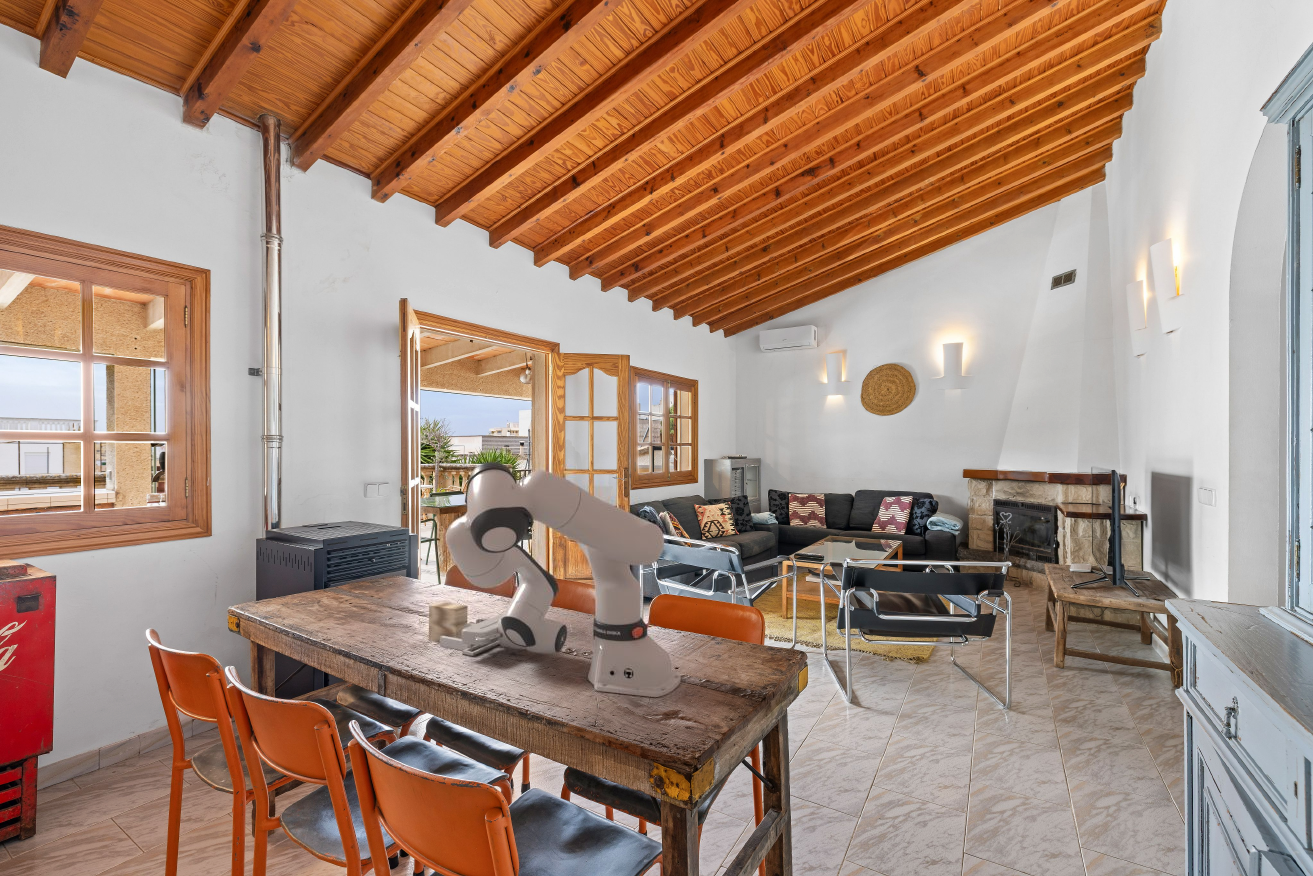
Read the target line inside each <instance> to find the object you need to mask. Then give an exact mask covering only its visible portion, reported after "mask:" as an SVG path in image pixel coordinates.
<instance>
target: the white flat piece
mask: <svg viewBox="0 0 1313 876" xmlns="http://www.w3.org/2000/svg"><path fill="white" fill-rule="evenodd" d="M439 647H443V648H449V649H452V650H453V649H454V650H458V651H464V650H466V649H468V648H471V647H472V645H471V644H464V643H463V642H462V639H458V638H452V637H447V636H441V637H440V643H439Z"/></svg>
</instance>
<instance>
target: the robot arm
mask: <svg viewBox="0 0 1313 876" xmlns="http://www.w3.org/2000/svg"><path fill="white" fill-rule="evenodd" d="M464 503H465V505H466V507H467V509H466V510H467V511H466V512H465V514H464V515H463V516H460V517H458V518H456V519H455V520H454V521H453V522H452V523H450V525H449V526H448V527H447V529H446V533H445V544H446V547H447V549H448V551H449V554H450V555H451V558H452V560H453V561H454V563H455V565H456V566H457V568H458V569H459V571H460V572H461V574H462V575H463V577H465V579H466V580H467V581H468V582H469V583H471V584H472V586H473V585H474V586H475V587H478V588H482V589H490V588H494V587H497V586H500V585H502V584H504V583H506V582H507V581H508V580H509V579H510V578H511V577H512V576H513V574H515V573H516V572H517V573H518V574H519V576H521V578H520V582H519V584H518V587H517V589H516V590H515V593H514V595H513V596H512V598H511V600H510V601H509V603H508V605H507V607H506V609H505V610H504V612H503V613H501V614H498V615H495V616H493V617H488V618H481V617H480V618H478V619H476V620H475V622H473V621H470V622H467V624H466V628H464V629H463V630H462V642H463V643H464V644H471V646H475V645H487V644H489V643H492V642H494V641H496V640H498V641H499V643H500V646H501V647H503V648H508V649H509V648H510V649H514V650H527V651H529V652H530V653H531V652H532V653H538V654H544V655H546V654H547V655H550V654H551V655H553V654H557V653H558V654H559V653H560V652H561V650H563V648H564V645H565V643H566V641H567V638H568V637H567V636H568V628H567V627H568V626H567V625H566V624H565V623H563V622H561V621H557V620H554V619H550V618H546V616H547V613H548V611H549V609H550V607H551V605H552V603H553V602H554V600H555V598H556V597H557V595H558V594H559V591H560V590H559V589H560V588H559V584H558V581H557V579H556V577H555V576H554V575H553V574H552V573H550V572H549V571H547V570H546V569H545V568H543V567H542V566H541V565H540V563H538V561H537V560H535V558H534V557H533V556H532V555H531V554H530V553H529V552H528V551H527V550H526V549H525V548H523V546H521V545H519V543H520V542H521V541H522V540H523V539H524V537H525V536H526V535H527V534H529V533H530V532H531V531H532V528H533V526H534V521H535V522H536V521H537V522H539V523H541V524H542V525H545V526H547V527H548V528H549V529H551V530H553V531H556V532H557V533H559V534H561V535H563V536H565V537H566V538H568V539H569V540H572V541H574V542H575V543H577V544H578V547H579V548H580V549H581V550H582V552H583V553H584V555H585V557H586V559H587V562H588V564H589V567H590V571H591V574H592V580H593V583H594V593H595V594H594V595H595V596H594V597H595V608H594V609H595V612H594V613H595V617H594V618H593V623H592V624H593V627H592V628H593V630H592V632H593V633H592V635H593V640H594V641H593V642H594V643H593V649H592V650H593V651H592V657H591V663H590V667H589V671H588V675H587V680H588V681H589V682H590V683H591V684H592V685H593V686H594V687H593V688H594V690H595V691H597V692H603V693H604V692H605V693H614V694H624V695H632V696H640V697H641V696H642V697H652V698H658V697H662V696H665V695H668V694H670V693H671V692H673V691H674V690H675V689H677V688H678V687H679V685H680V684H681V683H682V678H681V673H679V672H678V671H676V670H675V671H674V670H672V663H671V662H672V661H671V657H670V655H669V654H670V653H668V652H667V651H666V649H664V648H663V647H662V646H661V645H659V644H658V642H656V641H655V640H654V639H653V638H652V637H651V636H650V635H649V634H648V629H649V628H650V627H651V625H650V624H651V621H648V622H645V621H644V619H643V617H642V588H641V584H640V582H639V581H638V580H637V579H636V577H635V576H634V575H633V572H632V571H631V569H630V568H631V567H630V566H646V565H652V564H654V563H655V562H657V561H658V560H659V558H660V557H661V556H662V554H663V551H664V547H665V537H664V534H663V533H664V532H663V530H662V529H661V528H660V527H659V526H658V525H657V524H655V523H653V522H650V521H648V520H646V519H643V518H641V517H639V516H637V515H635V514H633V513H631V512H628V511H627V510H625V509H623V508H620V507H617V506H615V505H613V504H611V503H608V502H606V501H604V500H602V499H600V498H598V497H596V496H595V495H593V494H592V493H590V492H588V491H587V490H585V489H584V488H582V487H580V486H578V485H577V484H575V483H573V482H572V481H571V480H569V479H567V478H565V477H562V476H561V475H558V474H556V473H552V472H549V471H547V470H541V469H540V470H539V469H537V470H534V471H532V472H530V473H529V474H527V475H526V476H525V477H524V478H523V480H522V481H520V482H518V483H517V480H516V477H515V475H514V474H513V472H512V471H511V469H510V468H509V467H508V466H506V465H505V464H503V463H500V462H494V461H491V462H490V461H488V462H484V463H482V464H479V465H477V466H476V467H474V469H473V470H472V471H471V472H470V475H469V478H468V480H467V485H466V491H465V497H464Z"/></svg>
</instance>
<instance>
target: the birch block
mask: <svg viewBox="0 0 1313 876" xmlns="http://www.w3.org/2000/svg"><path fill="white" fill-rule="evenodd" d="M468 611H469V609H468V605H466V604H458V603H451V602H447V601H446V602H444V601H439V602H436V603H432V604H429V606H428V641H430V642H434V643H439V644H440V637H441V636H447V637H452V638H458V639H462V630H463V629H464V628H466V624H467V623H468Z"/></svg>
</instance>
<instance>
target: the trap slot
mask: <svg viewBox="0 0 1313 876" xmlns="http://www.w3.org/2000/svg"><path fill="white" fill-rule="evenodd" d="M499 645H500V643H499V641H498V640H496V641H494V642H492V643H489V644H487V645H472V646H471V648H468V649H466V650H464V651H462V650H461V651H462V654H461V655H463V656H465V657H476V656H477V655H480V654H481V653H484V652H487V651H489V650H491V649H493V648H495V647H498V646H499ZM500 646H501V645H500Z"/></svg>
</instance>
